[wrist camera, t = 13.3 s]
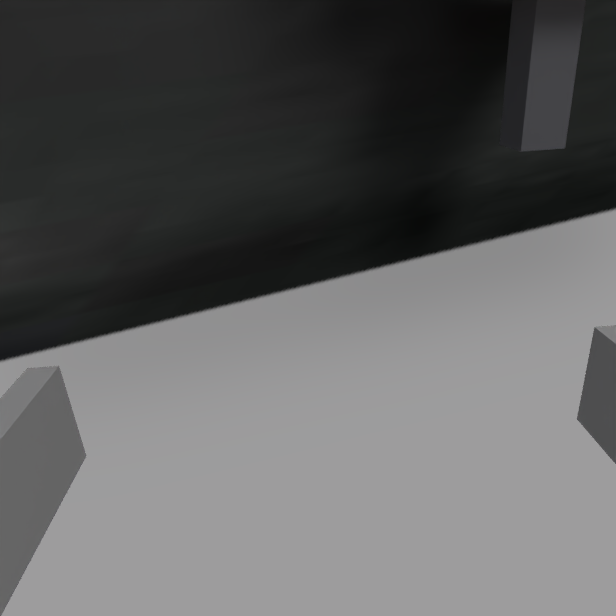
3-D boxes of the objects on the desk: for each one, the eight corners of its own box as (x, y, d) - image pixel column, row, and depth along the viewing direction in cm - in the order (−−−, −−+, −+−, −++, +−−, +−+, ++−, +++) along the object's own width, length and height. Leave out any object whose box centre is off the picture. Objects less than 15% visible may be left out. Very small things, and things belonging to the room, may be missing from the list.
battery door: (427, 139, 35) (485, 163, 25) (433, -25, 31) (504, -76, 21) (549, 131, 35) (657, 151, 25) (570, -34, 31) (708, -89, 21)
